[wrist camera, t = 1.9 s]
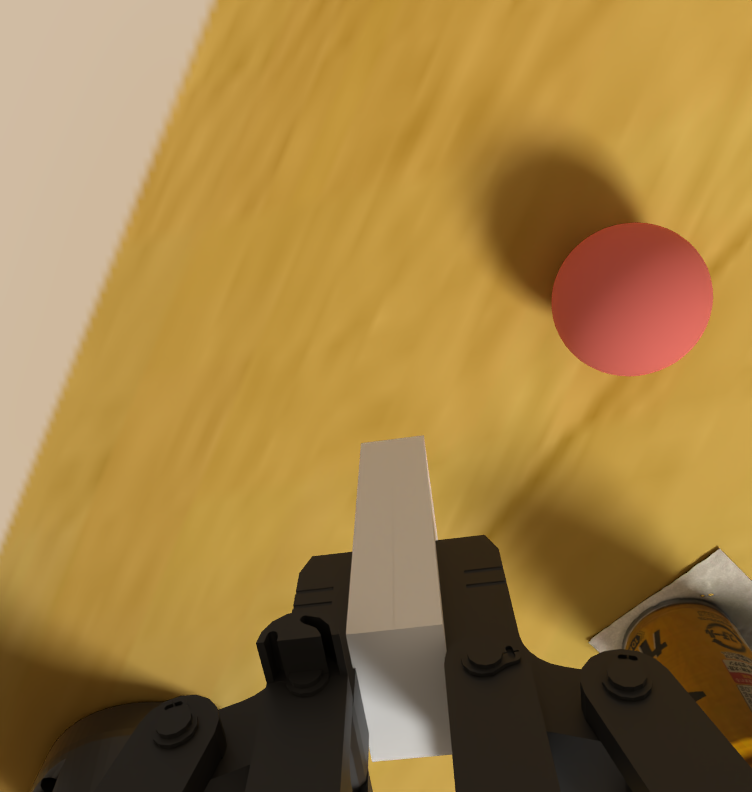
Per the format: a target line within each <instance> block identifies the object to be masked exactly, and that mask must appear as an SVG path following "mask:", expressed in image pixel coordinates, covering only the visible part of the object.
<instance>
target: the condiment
mask: <svg viewBox="0 0 752 792" xmlns="http://www.w3.org/2000/svg"><path fill="white" fill-rule="evenodd" d="M711 593H712V594H714V595H713V596H708V594H711ZM700 595H705V596H704V597H700ZM588 643H589V644H591V645H592V646H593V647H594V648H595V649H596V650H597V651H599V652H600V653H601V652H603V651H608V650H616V649H626V650H633V651H639V652H641V653H644V654H646V655H648V656H651V657H653V658H655V659H657V660H658V661H659V662H660V663H661V664H663V665H664V666H665V667H666V668H667V669H668V670H669V671H670V672H671V673H672V674H673V676H674V677H675V678H676V679H677V680H678V681H679V683H680V684H681V685H682V686H683V687H684V689H685V690H686V691H687V692H688V693H689V695H690V696H691V697H692V698H693V699H694V700H695V702H696V703H697V704H698V705H699V706H700V708H701V709H702V710H703V711H704V712H705V713H706V715H707V716H708V717H709V718H710V719H711V721H712V722H713V723H714V724H715V725H716V726H717V728H718V729H719V730H720V731H721V732H722V734H723V735H724V736H725V737H726V738H727V739H728V741H729V742H730V743H731V744H732V745H733V747H734V748H735V749H736V750H737V751H738V753H739V754H740V755H741V756H742V757H743V758H744V760H745V761H746V762H747V763H748V764H749V766H750V767H751V768H752V581H751V580H750V579H749V578H748V577H747V576H746V575H745V574H744V573H743V572H742V571H741V570H740V569H739V568H738V567H737V566H736V565H735V564H734V563H733V562H732V561H731V560H730V559H729V558H728V557H727V556H726V555H725V554H724V553H723V552H722V550H721V549H719V550H717V551H716V552H714V553H713V554H711V555H710V556H709V557H708V558H707V559H705V560H704V561H702V562H701V563H699V564H697V565H696V566H694V567H693V568H692V569H691V570H690V571H689V572H687V573H686V574H684V575H682V576H681V577H679V578H678V579H676V580H675V581H674V582H673V583H672V584H670V585H669V586H666V587H665V588H663V589H662V590H661V591H659V592H657V593H656V594H654V595H652V596H651V597H649V598H648V599H646V600H645V601H643V602H642V603H640V604H639V605H638V606H636V607H635V608H634V609H633V610H631V611H629V612H628V613H626V614H625V615H624V616H622V617H621V618H619V619H618V620H616V621H615V622H614V623H612V624H611V625H610V626H609V627H607V628H605V629H604V630H602V631H601V632H600V633H598V634H597V635H596V636H595V637H593V638H592V639H591V641H590V642H588Z"/></svg>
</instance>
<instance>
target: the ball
mask: <svg viewBox="0 0 752 792" xmlns="http://www.w3.org/2000/svg"><path fill="white" fill-rule="evenodd" d="M712 304H713V288H712V282H711V277H710V274H709V271H708V268H707V266H706V264H705V262H704V260H703V259H702V257H701V256H700V254H699V253H698V252H697V250H696V249H695V248H694V247H693V246H692V245H691V244H690V243H689V242H688V241H687V240H685V239H684V238H683V237H681V236H680V235H678V234H677V233H675V232H673V231H671V230H669V229H667V228H664V227H661V226H658V225H653V224H648V223H636V222H635V223H624V224H618V225H613V226H610V227H607V228H604V229H602V230H600V231H598V232H596V233H594V234H592V235H591V236H589V237H587V238H586V239H585V240H583V241H582V242H581V243H580V244H578V245H577V246H576V247H575V248H574V249H573V250H572V252H571V253H570V254H569V255H568V256H567V258H566V259H565V260H564V262H563V264H562V266H561V267H560V269H559V271H558V274H557V276H556V279H555V282H554V286H553V291H552V314H553V319H554V323H555V326H556V329H557V331H558V333H559V335H560V337H561V339H562V341H563V342H564V344H565V345H566V347H567V348H568V349H569V350H570V351H571V352H572V353H573V354H574V355H575V356H576V357H577V358H578V359H579V360H581V361H582V362H584V363H585V364H587V365H588V366H590V367H592V368H595V369H597V370H599V371H601V372H605V373H608V374H613V375H619V376H639V375H645V374H649V373H653V372H656V371H659V370H662V369H664V368H666V367H668V366H670V365H672V364H673V363H675V362H677V361H678V360H679V359H681V358H682V357H684V356H685V355H686V354H687V353H688V352H689V351H690V350H691V349H692V348H693V347H694V346H695V344H696V343H697V342H698V340H699V339H700V337H701V336H702V334H703V332H704V330H705V328H706V326H707V324H708V321H709V318H710V314H711V310H712Z"/></svg>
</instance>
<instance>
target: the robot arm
mask: <svg viewBox="0 0 752 792" xmlns="http://www.w3.org/2000/svg"><path fill="white" fill-rule="evenodd" d="M293 606H294V609H293V610H292V613H290V614H286V615H284V616H283V617H281V618H279V619H277V620H275V621H273V622H272V623H271V624H270V625H268V626H267V627H266V628H265V629H264V630H263V631H262V632H261V634H260V636H259V638H258V640H257V642H256V645H257V649H258V652H259V656H260V660H261V664H262V667H263V671H264V675H265V678H266V682H267V685H266V688H265V689H263V690H262V691H260V692H259V693H257V694H256V695H255V696H252V697H250V698H248V699H246V700H244V701H241V702H239V703H236V704H233V705H230V706H228V707H225V708H222V709H220V710H218V709H217V707H216V706H215V705H214V703H213V702H212V701H211V700H210V699H208V698H205V697H202V696H198V695H186V696H179V697H176V698H174V699H171V700H168V701H165V702H142V703H131V704H124V705H119V706H115V707H111V708H107V709H104V710H101V711H98V712H96V713H94V714H91V715H89V716H87V717H85V718H83V719H82V720H80V721H78V722H77V723H75V724H74V725H73V726H71V727H70V728H69V729H67V730H66V731H65V732H64V733H63V734H62V735H61V736H60V737H59V738H58V740H57V741H56V742H55V744H54V745H53V747H52V748H51V750H50V752H49V754H48V756H47V758H46V760H45V762H44V764H43V766H42V768H41V770H40V772H39V773H38V775H37V777H36V780H35V782H34V784H33V787H32V790H31V792H373V791H372V786H371V781H370V776H369V772H368V752H369V749H370V754H371V758H372V762H375V761H386V760H397V759H407V758H418V757H429V756H440V755H450V754H452V757H453V768H454V779H455V790H456V792H752V768H751V767H750V766H749V764H748V763H747V762H746V761H745V760H744V758H743V757H742V756H741V755H740V754H739V753H738V751H737V750H736V749H735V748H734V747H733V745H732V744H731V743H730V742H729V741H728V739H727V738H726V737H725V736H724V735H723V734H722V732H721V731H720V730H719V729H718V728H717V726H716V725H715V724H714V723H713V722H712V721H711V719H710V718H709V717H708V716H707V715H706V713H705V712H704V711H703V710H702V709H701V708H700V706H699V705H698V704H697V703H696V702H695V700H694V699H693V698H692V697H691V696H690V695H689V693H688V692H687V691H686V690H685V689H684V687H683V686H682V685H681V684H680V683H679V681H678V680H677V679H676V678H675V677H674V676H673V674H672V673H671V672H670V671H669V670H668V669H667V668H666V667H665V666H664V665H663V664H661V663H660V662H659V661H658V660H657V659H655V658H653V657H651V656H648V655H646V654H644V653H641V652H639V651H633V650H626V649H616V650H608V651H603V652H601V653H599V654H597V655H595V656H593V657H591V658H590V659H589V660H588V661H587V663H586V664H585V665H584V666H583V667H582V669H575V668H569V667H563V666H559V665H554V664H550V663H548V662H546V661H544V660H541V659H539V658H538V657H536V656H535V655H534V654H532V653H531V652H529V650H528V649H527V648H526V647H525V646H524V644H523V643H522V641H521V638H520V636H519V633H518V628H517V624H516V620H515V616H514V612H513V607H512V603H511V599H510V595H509V591H508V587H507V584H506V578H505V574H504V570H503V566H502V561H501V557H500V553H499V549H498V548H497V547H496V546H495V545H494V544H493V543H492V542H491V541H490V540H489V539H488V538H487V537H486V536H485V535H479V536H471V537H462V538H453V539H445V540H438V538H437V529H436V522H435V515H434V507H433V500H432V493H431V485H430V478H429V471H428V463H427V456H426V449H425V441H424V436H416V437H408V438H400V439H392V440H384V441H376V442H368V443H361V451H360V464H359V476H358V489H357V501H356V514H355V526H354V539H353V551H352V552H347V553H338V554H329V555H321V556H312V557H311V559H310V560H309V561H308V563H307V564H306V565H305V567H304V568H303V569H302V570H301V572H300V573H299V578H298V583H297V589H296V594H295V600H294V605H293Z"/></svg>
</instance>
